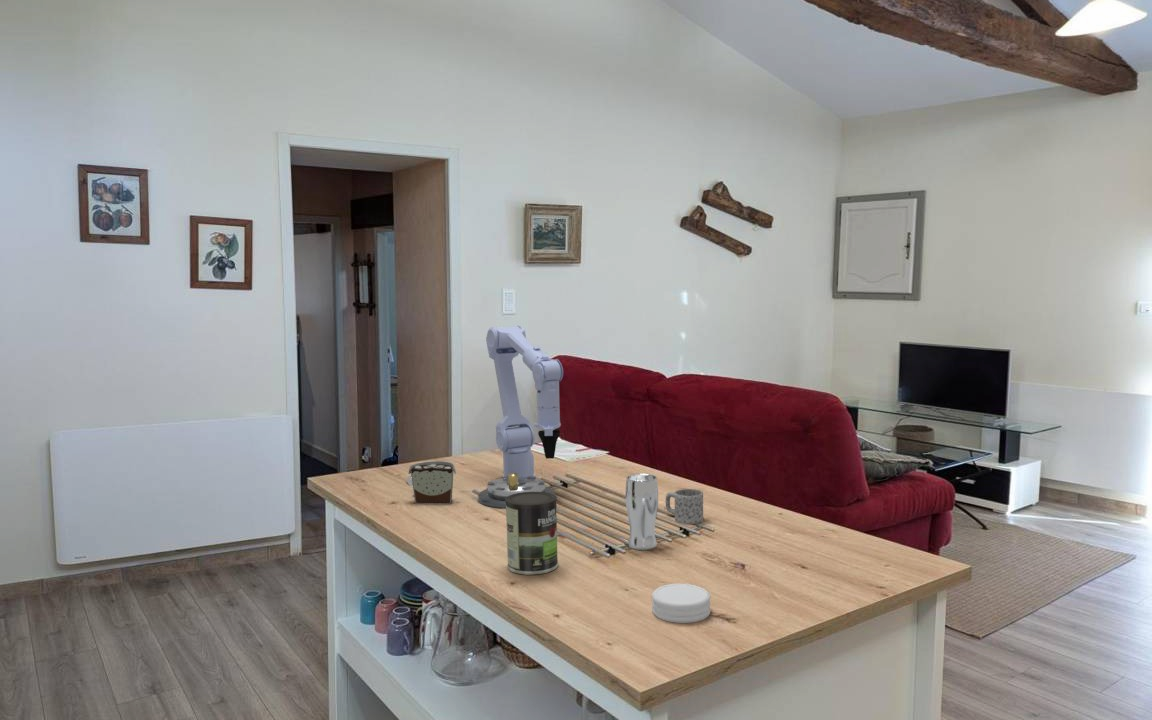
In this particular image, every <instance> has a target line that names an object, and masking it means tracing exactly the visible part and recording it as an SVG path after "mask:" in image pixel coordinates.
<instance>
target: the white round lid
mask: <svg viewBox="0 0 1152 720" xmlns="http://www.w3.org/2000/svg"><path fill="white" fill-rule="evenodd" d="M651 600H652V601H651V605H652V607H651V611H652V614H653V615H654V617H656V618H658V619H660V620H662V621H665V622H669V623H675V624H690V623H691V624H692V623H697V622H701V621H703V620H705V619H707V618H708V617H709V616H710V613H711V595H710V592H708V591H707V590H706V589H704V588H703V587H702V586H701V587H700V586H698V585H694V584H689V583H670V584H669V583H668V584H664V585H661V586H659V587H656V588H655V590H654V591H652V594H651Z"/></svg>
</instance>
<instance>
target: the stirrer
mask: <svg viewBox="0 0 1152 720" xmlns="http://www.w3.org/2000/svg"><path fill="white" fill-rule="evenodd" d="M406 483H407V485H408V486H409V485H410V486H409V487H412V486H413V485H412V478H411V475H409V476H406Z"/></svg>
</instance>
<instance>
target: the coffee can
mask: <svg viewBox="0 0 1152 720" xmlns="http://www.w3.org/2000/svg"><path fill="white" fill-rule="evenodd" d="M557 500H558V497H557V496H556V494H555V495H553V494H551V493H546V492H522V493H516V494H512V495H510V496H508V497H506V498H505V503H506V509H505V512H506V515H505V517H506V518H505V519H506V547H507V570H509V571H510V572H512V573H514V574H518V575H527V576H529V575H531V576H533V575H543V574H546V573H547V574H548V573H551V572H553V571H554V570H557V568H558V566H559V562H558V534H557V533H558V526H557V525H558V524H557V523H558V519H557V516H558V515H557Z"/></svg>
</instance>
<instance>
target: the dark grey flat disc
mask: <svg viewBox="0 0 1152 720" xmlns="http://www.w3.org/2000/svg"><path fill="white" fill-rule="evenodd" d="M545 492H546V493H551V494H553V495H555V496H556V493H555V490H554V489H553V488H551V487H549V486H545ZM477 497H478V499H477V500H478V502H479V503H480V504H481V505H483V506H485V507H489V508H493V509H494V508H495V509H502V508H506V503H505V500H498V499H494V498H491V497H489V496H488V488H486V489H484V490H481V491H480V492H479V493H478V496H477Z"/></svg>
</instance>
